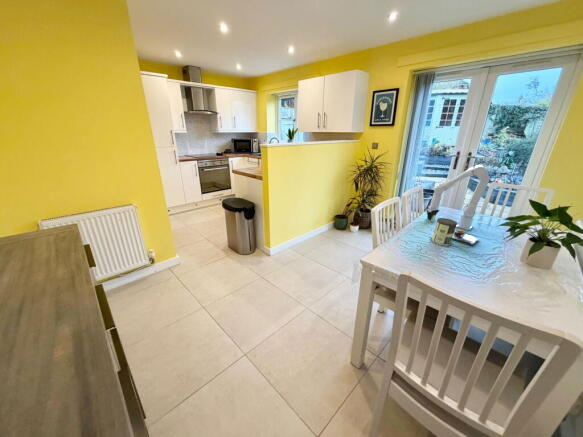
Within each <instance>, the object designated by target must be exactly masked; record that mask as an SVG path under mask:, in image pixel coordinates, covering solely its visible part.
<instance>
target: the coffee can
mask: <svg viewBox="0 0 583 437" xmlns="http://www.w3.org/2000/svg"><path fill="white" fill-rule="evenodd" d="M456 225H458V222H457V221H455V220H453V219H450V218H445V217H439V218H437V219H436V224H435V226H434V230H433V233H432V237H431V241H432V242H433V243H434V244H437V245H440V246H450V245H451V244H452V241H453V240H452V237H453V235H454V234H455V231H456V228H457V227H456Z"/></svg>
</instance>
